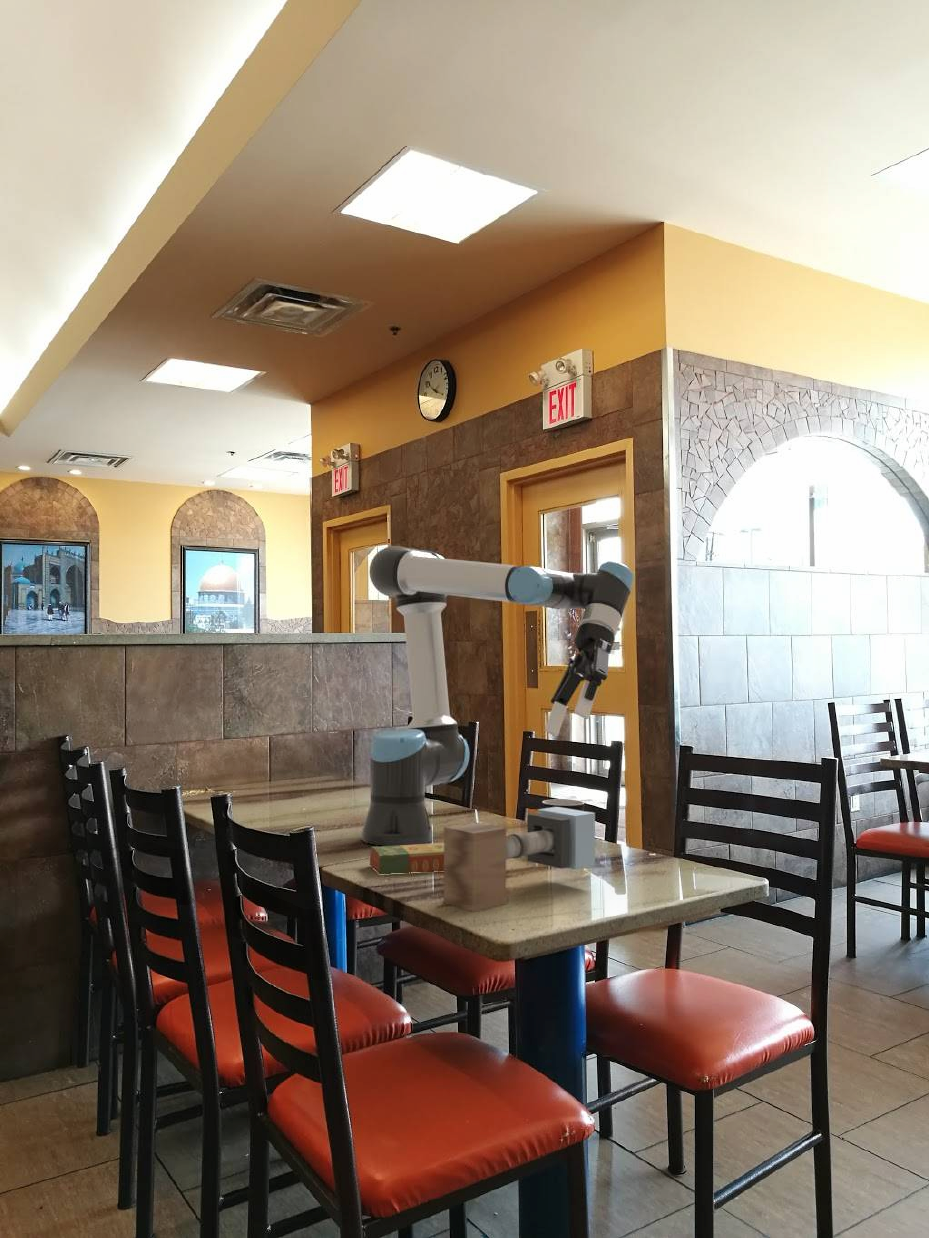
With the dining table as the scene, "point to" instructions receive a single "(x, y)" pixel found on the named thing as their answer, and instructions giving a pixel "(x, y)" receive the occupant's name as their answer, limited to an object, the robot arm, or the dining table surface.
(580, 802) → the coffee mug
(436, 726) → the robot arm
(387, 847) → the carton
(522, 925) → the dining table surface
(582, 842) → the sleeve
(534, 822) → the dark gray square plate
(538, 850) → the pipe mount
